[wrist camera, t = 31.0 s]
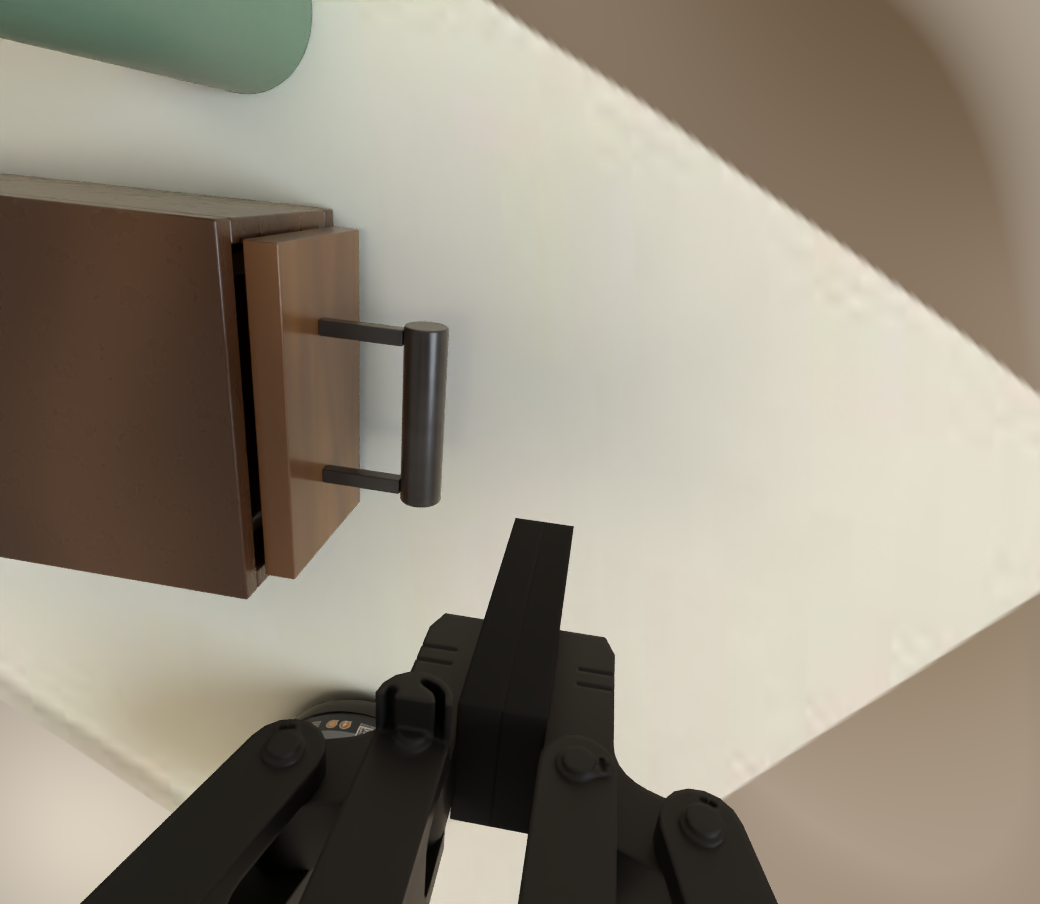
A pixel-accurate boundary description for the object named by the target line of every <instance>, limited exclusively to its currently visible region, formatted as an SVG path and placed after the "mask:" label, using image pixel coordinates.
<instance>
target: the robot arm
mask: <svg viewBox="0 0 1040 904" xmlns="http://www.w3.org/2000/svg"><path fill="white" fill-rule="evenodd" d="M573 528H574V526H567V525H560V524H553V523H547V522H540V521H533V520H526V519H519V518H516V519H515V522H514V525H513V528H512V531H511V535H510V538H509V541H508V544H507V547H506V551H505V554H504V557H503V560H502V563H501V567H500V570H499V573H498V576H497V579H496V583H495V586H494V589H493V592H492V595H491V599H490V602H489V605H488V608H487V611H486V615H485V618H484V619H478V618H471V617H465V616H459V615H453V614H447V613H445V614H444V615H443V616H442V617H441V618H439V619H438V620H437V621H436V622H435V623H433V624H432V625H431V626H430V628H429V630H428V632H427V635H426V637H425V639H424V642H423V646H421V649H420V651H419V653H418V656H417V660H415V663H414V665H413V667H412V670H411V672H407V673H403V674H399V675H395V676H394V677H392V678H390V679H389V680H387V681H385V682H384V683H383V684H382V685H381V686H380V688H379V689H378V690H377V691H376V728H375V729H374V730H372V731H369V732H367V733H364V734H362V735H357V736H351V737H343V738H332V739H325V738H324V736H323V734H322V732H321V730H320V728H318V727H317V726H315V725H314V724H312V723H311V722H308V721H304V720H299V719H288V720H280V721H277V722H274V723H272V724H269V725H266V726H264V727H263V728H261V729H260V730H259V731H257V732H256V733H255V734H253V735H252V736H251V737H250V738H249V739H248V740H247V741H246V742H245V743H244V744H243V745H242V746H241V747H240V748H239V749H238V750H237V751H236V752H234V753H233V754H232V755H231V756H230V757H229V758H228V759H227V760H226V761H225V762H224V763H223V764H222V765H221V766H220V767H219V768H218V769H217V770H216V771H215V772H214V773H213V774H212V775H211V776H210V777H209V778H208V779H207V780H206V781H205V782H204V783H203V784H202V785H201V786H200V787H199V788H198V789H197V790H196V791H195V792H194V793H193V794H192V795H191V796H190V797H189V798H188V799H187V800H186V801H184V802H183V803H182V804H181V805H180V806H179V807H178V808H177V809H176V810H175V811H174V812H173V813H172V814H171V816H169V817H168V818H167V819H166V820H165V821H164V822H163V823H162V824H161V825H160V826H159V827H158V828H157V829H156V830H155V831H154V832H153V833H152V834H151V835H150V836H149V837H148V838H147V839H146V840H145V841H144V842H143V843H142V844H141V845H140V846H139V847H138V848H137V849H136V850H135V851H134V852H132V853H131V855H129V856H128V857H127V859H125V860H124V861H123V862H122V863H121V864H120V865H119V866H118V867H117V868H116V869H115V870H114V871H113V872H112V873H111V874H110V875H109V876H108V877H107V878H106V879H105V880H104V881H103V882H102V883H101V884H100V885H99V886H98V887H97V888H96V889H95V890H94V891H93V892H92V893H91V894H90V895H89V896H88V897H87V898H86V899H85V900H84V901H82V902H81V903H80V904H429V902H430V898H431V895H432V891H433V887H434V883H435V879H436V875H437V872H438V868H439V864H440V860H441V856H442V853H443V849H444V834H445V826H446V822H447V819H448V815H449V811H450V808H451V813H450V819H454V820H459V821H464V822H469V823H475V824H480V825H485V826H490V827H495V828H501V829H506V830H511V831H516V832H521V833H527V834H528V839H527V846H526V853H525V859H524V866H523V873H522V880H521V887H520V894H519V901H518V904H778V903H777V901H776V899H775V896H774V894H773V892H772V890H771V887H770V885H769V883H768V881H767V878H766V876H765V874H764V871H763V869H762V867H761V865H760V862H759V860H758V858H757V856H756V854H755V851H754V849H753V847H752V844H751V842H750V840H749V838H748V835H747V833H746V831H745V829H744V826H743V824H742V823H741V821H740V820H739V818H738V817H737V815H736V813H735V812H734V810H733V809H731V808H730V807H729V806H728V805H727V804H726V803H724V802H723V801H722V800H721V799H720V798H718V797H716V796H714V795H711V794H709V793H707V792H705V791H701V790H694V789H684V790H679V791H674V792H673V793H672V794H670V795H669V796H668V797H667V798H663V797H661V796H659V795H657V794H655V793H653V792H651V791H649V790H647V789H645V788H643V787H642V786H640V785H638V784H637V783H635V782H634V781H633V780H632V779H631V778H630V777H628V776H627V775H626V774H625V772H624V771H623V770H622V768H621V767H620V766H619V764H618V761H617V759H616V757H615V753H614V671H615V655H614V653H613V651H612V649H611V647H610V645H609V644H608V642H607V640H606V638H605V637H598V636H592V635H586V634H580V633H574V632H568V631H561V630H560V623H561V616H562V608H563V601H564V594H565V586H566V579H567V572H568V564H569V557H570V550H571V542H572V535H573Z"/></svg>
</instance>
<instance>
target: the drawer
mask: <svg viewBox="0 0 1040 904" xmlns="http://www.w3.org/2000/svg"><path fill="white" fill-rule="evenodd" d="M231 250H232V263H233V276H234V289H235V302H236V315H237V328H238V342H239V355H240V368H241V381H242V394H243V407H244V420H245V434H246V447H247V460H248V473H249V486H250V499H251V512H252V526H253V533H254V532H255V531H256V530H257V529H258V528H259V527H260V526H261V525H262V527H263V541H264V556H265V570H266V574H267V575H272V576H278V577H284V578H290V579H295V578H296V577H297V576H298V574H299V573H300V572H301V571H302V570H303V568H304V567H305V566H306V565H307V564H308V562H309V561H310V560H311V559H312V558H313V557H314V555H315V554H316V553H317V552H318V551H319V549H320V548H321V547H322V546H323V545H324V543H325V542H326V541H327V540H328V539H329V537H330V536H331V535H332V534H333V533H334V531H335V530H336V529H337V528H338V527H339V525H340V524H341V523H342V522H343V521H344V519H345V518H346V517H347V516H348V515H349V513H350V512H351V511H352V510H353V509H354V507H355V506H356V505H357V504H358V503H359V501H360V488H364V489H370V490H377V491H384V492H390V493H397V494H398V493H400V498H401V500H402V502H403V503H405V504H406V505H409V506H412V507H430V506H433V505H435V504H437V503H438V502H439V501H440V498H441V479H442V459H443V439H444V419H445V399H446V378H447V358H448V338H449V328H448V327H447V326H445V325H443V324H439V323H434V322H411V323H407V324H405V326H404V327H397V326H389V325H381V324H373V323H365V322H359V231H358V229H351V228H342V227H333V226H331V227H324V228H317V229H310V230H303V231H297V232H290V233H283V234H276V235H269V236H262V237H255V238H248V239H244V240H243V243H237V244H231ZM359 341H364V342H372V343H379V344H387V345H395V346H403V345H404V358H403V402H402V445H401V475H396V474H390V473H383V472H376V471H370V470H363V469H360V456H359Z"/></svg>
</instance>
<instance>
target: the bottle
mask: <svg viewBox="0 0 1040 904" xmlns="http://www.w3.org/2000/svg"><path fill="white" fill-rule="evenodd" d="M311 22H312V5H311V0H0V38H3V39H7V40H12V41H16V42H20V43H25V44H29V45H33V46H37V47H42V48H46V49H50V50H55V51H59V52H63V53H67V54H72V55H76V56H80V57H85V58H89V59H93V60H98V61H102V62H106V63H110V64H115V65H119V66H123V67H128V68H132V69H136V70H140V71H145V72H149V73H153V74H158V75H162V76H166V77H170V78H175V79H179V80H183V81H188V82H192V83H196V84H200V85H205V86H209V87H213V88H218V89H222V90H226V91H230V92H235V93H242V94H255V93H259V92H264V91H267V90H269V89H272V88H274V87H275V86H277V85H279V84H280V83H282V82H283V81H284V80H285V79H286V78H288V77H289V75H290V74H291V73H292V72H293V71H294V70H295V68H296V67H297V65H298V64H299V62H300V60H301V58H302V56H303V54H304V52H305V50H306V47H307V44H308V40H309V36H310V31H311Z"/></svg>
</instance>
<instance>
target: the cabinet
mask: <svg viewBox="0 0 1040 904" xmlns="http://www.w3.org/2000/svg"><path fill="white" fill-rule="evenodd" d="M331 226H333V211H332V210H331V209H327V208H318V207H309V206H299V205H290V204H281V203H272V202H262V201H253V200H244V199H234V198H225V197H216V196H207V195H197V194H188V193H179V192H169V191H160V190H151V189H142V188H132V187H123V186H114V185H105V184H95V183H86V182H77V181H67V180H58V179H49V178H40V177H30V176H21V175H12V174H2V173H0V557H4V558H10V559H15V560H21V561H27V562H33V563H39V564H44V565H50V566H56V567H62V568H68V569H74V570H79V571H85V572H91V573H97V574H103V575H108V576H114V577H120V578H126V579H132V580H137V581H143V582H149V583H155V584H161V585H166V586H172V587H178V588H184V589H190V590H195V591H201V592H207V593H213V594H219V595H224V596H230V597H236V598H242V599H248V598H249V597H250V596H251V595H252V593H253V592H254V591H255V590H256V589H257V587H259V586H260V585H261V583H262V582H263V581H264V580H265V579H266V578H267V577H268V576H269V575H267V574H266V570H265V556H264V541H263V527H262V525H261V526H260V527H259V528H258V529H257V530H256V531H255V532H254V533H253V526H252V512H251V499H250V486H249V473H248V460H247V447H246V434H245V420H244V407H243V394H242V381H241V368H240V355H239V342H238V328H237V315H236V302H235V289H234V276H233V263H232V250H231V244H237V243H243V240H244V239H248V238H255V237H262V236H269V235H276V234H283V233H290V232H297V231H303V230H310V229H317V228H324V227H331Z"/></svg>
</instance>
